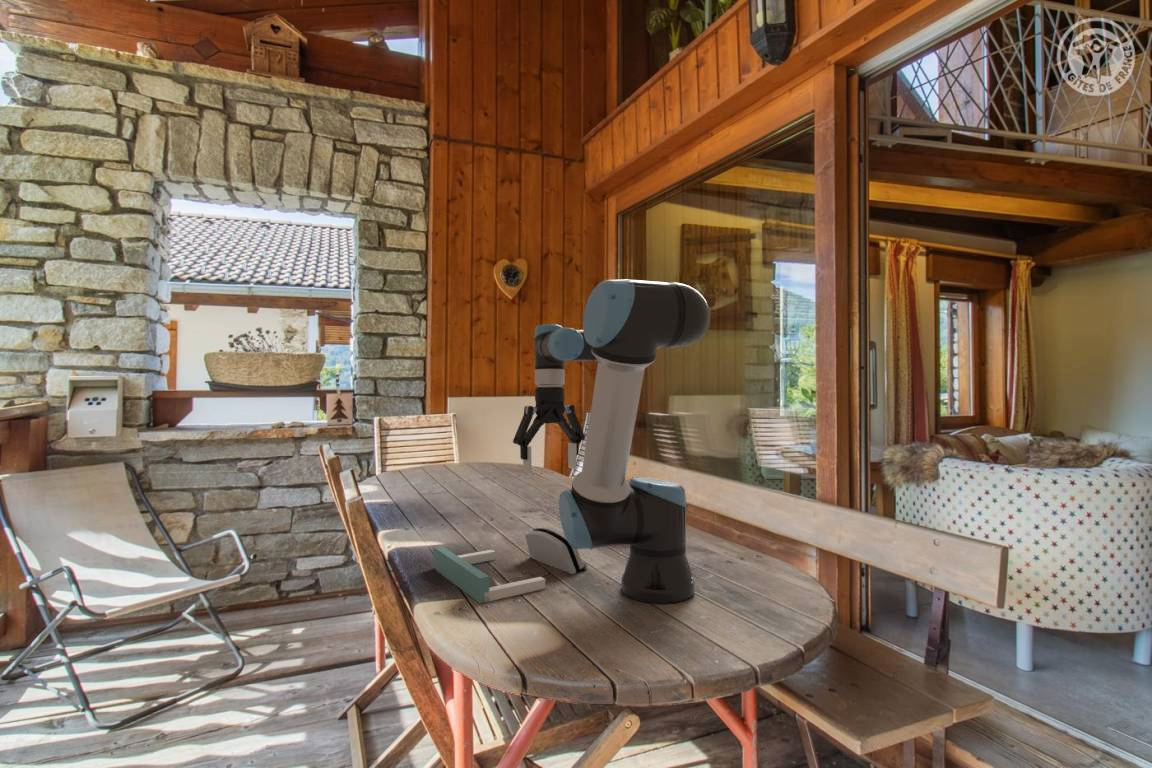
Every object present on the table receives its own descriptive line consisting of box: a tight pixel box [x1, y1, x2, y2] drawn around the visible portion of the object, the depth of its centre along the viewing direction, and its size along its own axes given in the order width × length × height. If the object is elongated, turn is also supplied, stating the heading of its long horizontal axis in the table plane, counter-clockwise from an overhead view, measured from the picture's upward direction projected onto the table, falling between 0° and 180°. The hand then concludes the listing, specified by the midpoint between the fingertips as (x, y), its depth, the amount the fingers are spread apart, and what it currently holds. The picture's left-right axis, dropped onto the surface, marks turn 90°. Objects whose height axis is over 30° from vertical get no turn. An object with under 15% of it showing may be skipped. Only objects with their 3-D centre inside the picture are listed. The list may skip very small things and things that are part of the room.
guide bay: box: [432, 545, 546, 604], centre depth 133 cm, size 26×15×5 cm, turn 33°
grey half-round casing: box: [525, 526, 589, 575], centre depth 143 cm, size 17×5×10 cm, turn 40°
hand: (550, 470), depth 151 cm, fingers open, 13 cm apart
